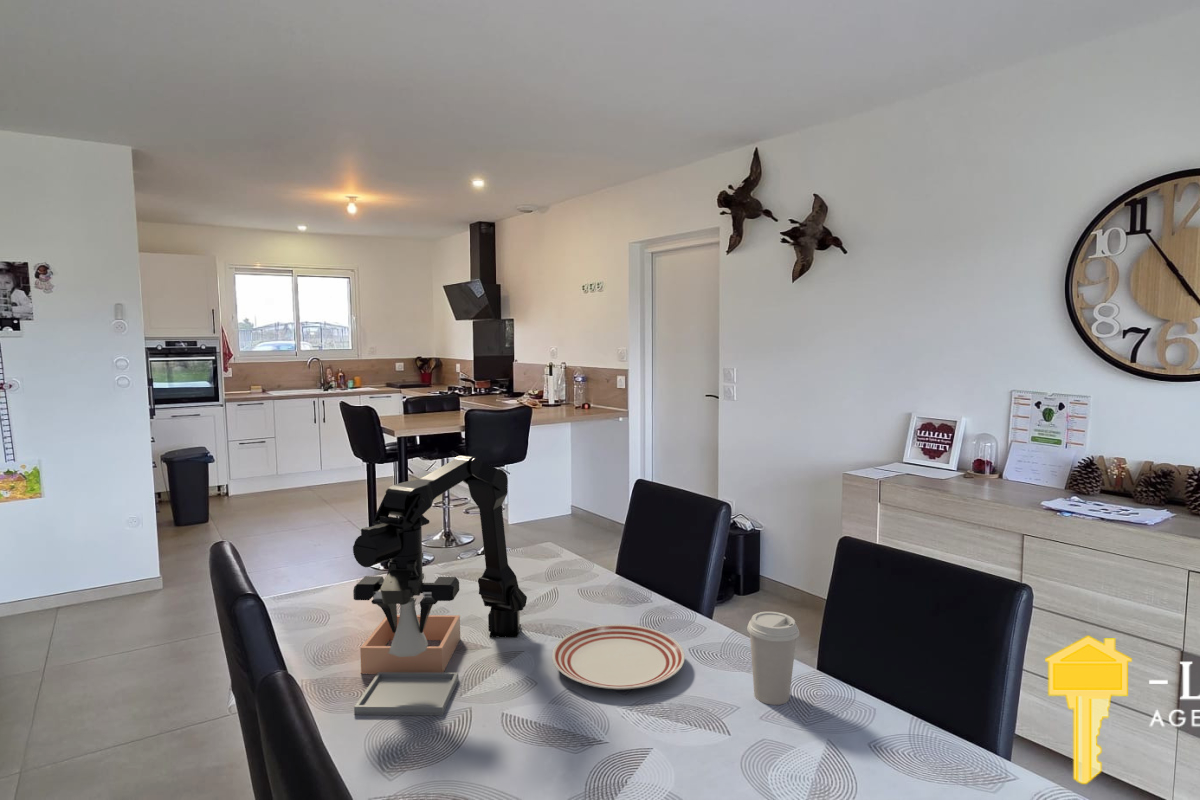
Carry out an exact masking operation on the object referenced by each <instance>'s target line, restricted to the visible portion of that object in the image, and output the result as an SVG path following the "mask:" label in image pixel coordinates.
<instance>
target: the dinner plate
mask: <svg viewBox="0 0 1200 800" xmlns="http://www.w3.org/2000/svg"><path fill="white" fill-rule="evenodd" d="M551 656H552V657H551V658H552V662H553V665H554V666H555V668H556V669H557V670H558V671H559V673H561V674H562V675H564V676H565V677H567V678H569V679H570V680H572V681H575V682H577V683H580V684H583V685H586V686H590V687H594V688H599V689H608V690H631V689H633V690H634V689H641V688H647V687H651V686H655V685H658V684H660V683H662V682H664V681H666V680H669V679H670V678H673V676H674V675H676V674H677V673H678V672H680V670H681V669H682V667H683V666H684V664H685V660H686V655H685V651H684V649H683V647H682V646H681V645H680V643H679V642H678V641H677V640H676V639H674V638H673V637H671V636H670V635H668V634H666V633H664V632H661V631H659V630H658V629H653V628H650V627H647V626H641V625H633V624H622V623H621V624H618V623H617V624H614V623H613V624H602V625H595V626H591V627H585V628H582V629H579V630H576V631H573V632H571V633H570V634H568V635H566V636H564V637H563V638H562V639H560V640H559V641H558V642H557V643H556V645H555V646H554V648H553V650H552V655H551Z"/></svg>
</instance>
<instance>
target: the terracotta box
mask: <svg viewBox="0 0 1200 800" xmlns="http://www.w3.org/2000/svg"><path fill="white" fill-rule="evenodd" d="M416 615H417V618H418V621H419V623H420V615H419V614H416ZM399 617H400V614H397V625H398V622H399ZM423 633H424V635H425V637H426V639H427V641H440V644H439V645H438V646H434V645H432V646H429V645H428V646H427V649H426V651H424V652H422V653H420V654H418V655H416V656H408V657H398V656H395V655H392V654H389V650H390V647H391V645H388V644H389V643H390V641H393V638H394V635H395V633H393V632H392V629H391V627H390V625H389V622H388V620H387V617H386V616H385V617H384V618H383V619H382V621H381V622H380V623H379V624H378V625H377V626H376V628H375V629H374V630H373V631H372V633H371V634H370V635H369V636H368V637H367V639H366V640H365V641H364V642H363V644H362V645H361V646H360V649H359V650H360V674H362V675H377V673H378V672H439V673H445V670H446V669H447V666H448V665H449V663H450V660H451V659H452V657H453V654H454V653H455V650H456V649H457V647H458V644H459V643H460V641H461V615H460V614H459V615H454V614H453V615H452V614H451V615H449V614H448V615H445V614H444V615H443V614H442V615H441V614H439V615H438V614H437V615H435V614H434V615H433V614H429V616H428V619H427V622H426V625H425V628H424V631H423Z"/></svg>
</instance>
